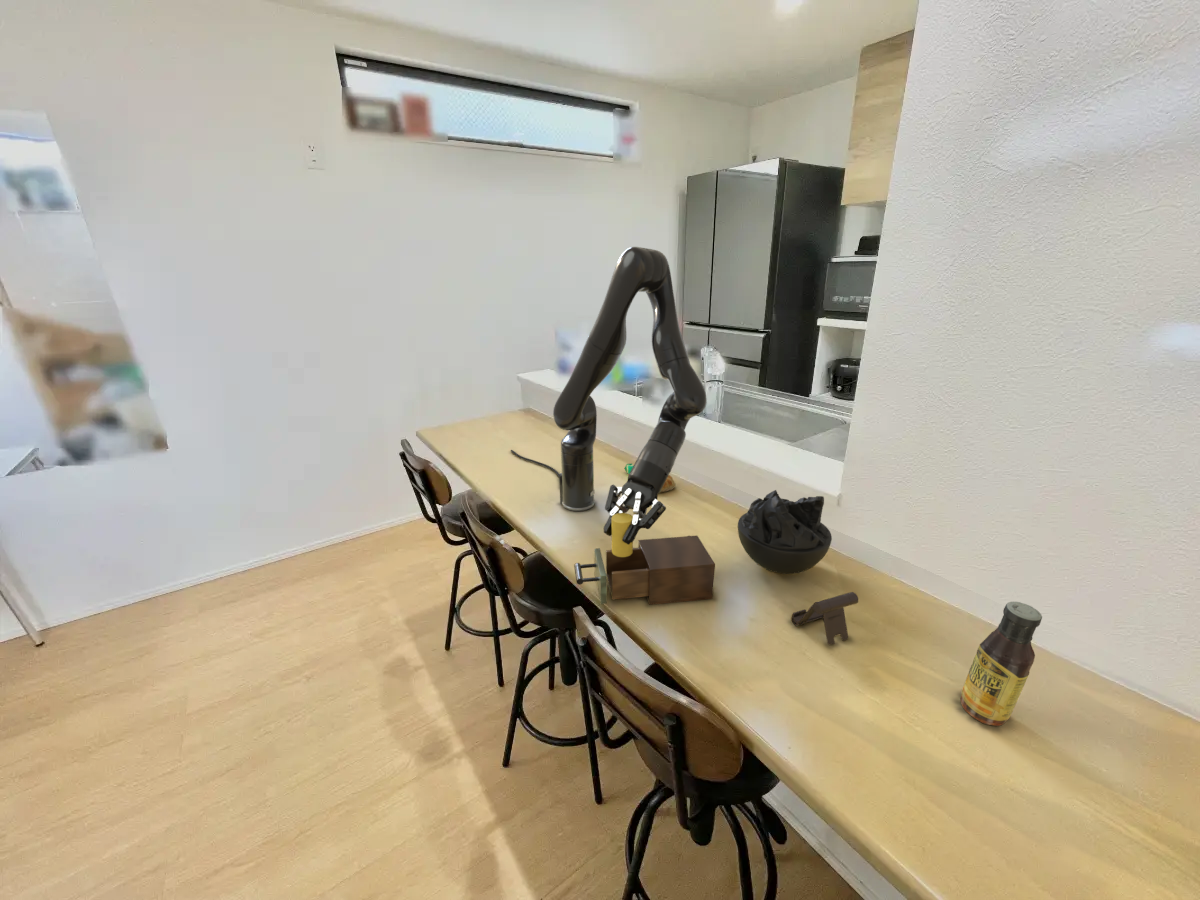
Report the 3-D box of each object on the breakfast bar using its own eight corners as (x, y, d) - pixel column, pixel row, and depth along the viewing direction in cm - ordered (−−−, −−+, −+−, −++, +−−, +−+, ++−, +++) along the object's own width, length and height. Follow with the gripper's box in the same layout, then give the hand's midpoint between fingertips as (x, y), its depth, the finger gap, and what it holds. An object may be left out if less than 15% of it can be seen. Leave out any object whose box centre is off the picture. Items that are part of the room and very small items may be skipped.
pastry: (655, 496, 150) (656, 485, 149) (640, 489, 155) (640, 478, 154) (676, 488, 155) (677, 477, 154) (661, 481, 160) (661, 470, 159)
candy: (622, 471, 166) (628, 460, 166) (629, 474, 168) (635, 464, 168) (640, 484, 156) (646, 473, 156) (647, 488, 158) (654, 477, 158)
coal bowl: (720, 571, 113) (726, 497, 106) (752, 535, 128) (760, 468, 121) (810, 604, 101) (824, 524, 95) (834, 561, 116) (848, 488, 110)
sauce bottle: (949, 696, 80) (981, 594, 73) (985, 693, 80) (1020, 592, 73) (981, 732, 73) (1020, 624, 67) (1020, 729, 74) (1062, 621, 67)
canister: (607, 552, 103) (607, 518, 100) (619, 543, 106) (619, 510, 103) (624, 559, 100) (625, 525, 98) (636, 550, 104) (637, 516, 101)
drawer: (578, 606, 100) (577, 578, 98) (573, 576, 110) (572, 550, 108) (660, 598, 102) (661, 570, 100) (649, 570, 112) (649, 544, 110)
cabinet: (649, 605, 102) (650, 569, 99) (637, 572, 113) (638, 540, 110) (712, 598, 104) (715, 564, 101) (695, 567, 114) (697, 535, 111)
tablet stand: (826, 611, 100) (832, 576, 97) (857, 636, 93) (865, 599, 90) (790, 621, 97) (796, 585, 94) (820, 648, 90) (827, 610, 87)
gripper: (619, 450, 107) (581, 520, 102) (674, 467, 97) (635, 544, 93) (634, 466, 112) (599, 533, 108) (687, 483, 103) (651, 557, 99)
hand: (616, 538), depth 101 cm, fingers closed on canister, 4 cm apart
